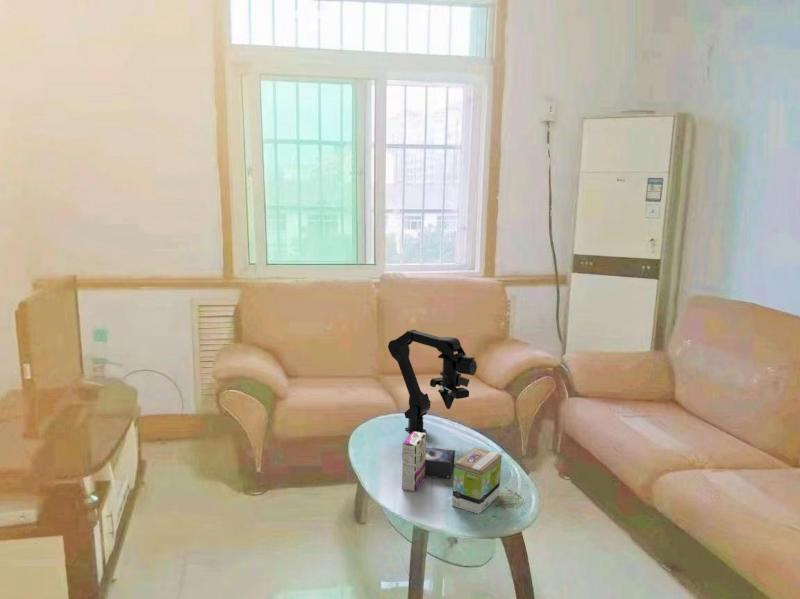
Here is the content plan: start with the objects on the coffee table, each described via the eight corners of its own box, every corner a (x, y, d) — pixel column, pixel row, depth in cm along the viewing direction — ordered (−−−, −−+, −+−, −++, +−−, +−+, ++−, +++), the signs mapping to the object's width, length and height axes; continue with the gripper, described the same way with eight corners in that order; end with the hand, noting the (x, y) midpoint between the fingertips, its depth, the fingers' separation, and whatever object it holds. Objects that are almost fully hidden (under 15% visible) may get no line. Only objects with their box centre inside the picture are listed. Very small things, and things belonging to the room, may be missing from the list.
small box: (455, 449, 220) (451, 462, 210) (454, 466, 222) (450, 480, 211) (425, 446, 222) (420, 459, 212) (425, 463, 224) (420, 476, 214)
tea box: (480, 515, 189) (482, 470, 187) (451, 506, 194) (452, 462, 192) (499, 495, 202) (502, 453, 199) (471, 487, 207) (473, 445, 204)
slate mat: (429, 472, 217) (429, 471, 217) (465, 462, 225) (465, 461, 225) (449, 486, 207) (449, 485, 207) (486, 475, 215) (486, 475, 215)
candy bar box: (411, 475, 215) (413, 430, 212) (425, 477, 213) (427, 432, 210) (400, 489, 204) (401, 442, 201) (415, 492, 202) (416, 445, 200)
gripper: (481, 374, 236) (479, 412, 239) (452, 361, 252) (451, 398, 255) (457, 378, 231) (456, 417, 234) (429, 365, 246) (428, 402, 249)
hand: (448, 408), depth 243 cm, fingers closed
